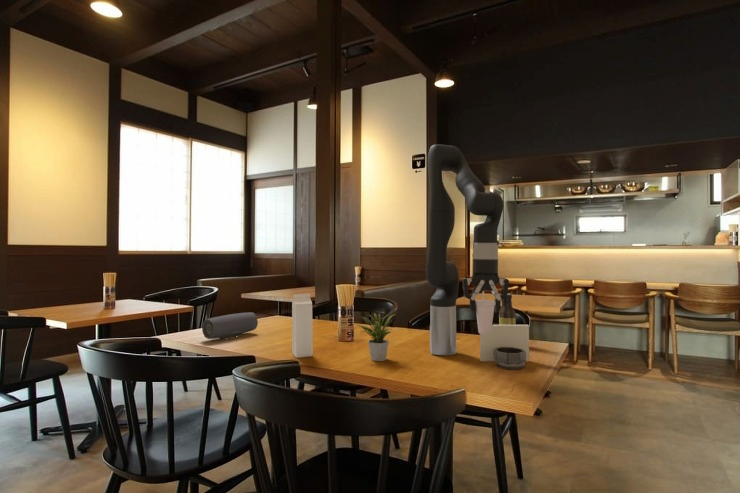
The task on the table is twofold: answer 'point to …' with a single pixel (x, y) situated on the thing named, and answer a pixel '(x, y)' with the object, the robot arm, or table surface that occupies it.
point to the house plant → (377, 338)
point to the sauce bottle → (507, 312)
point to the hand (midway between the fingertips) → (485, 312)
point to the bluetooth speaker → (229, 325)
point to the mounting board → (504, 340)
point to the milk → (302, 326)
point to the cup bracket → (510, 358)
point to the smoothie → (484, 314)
